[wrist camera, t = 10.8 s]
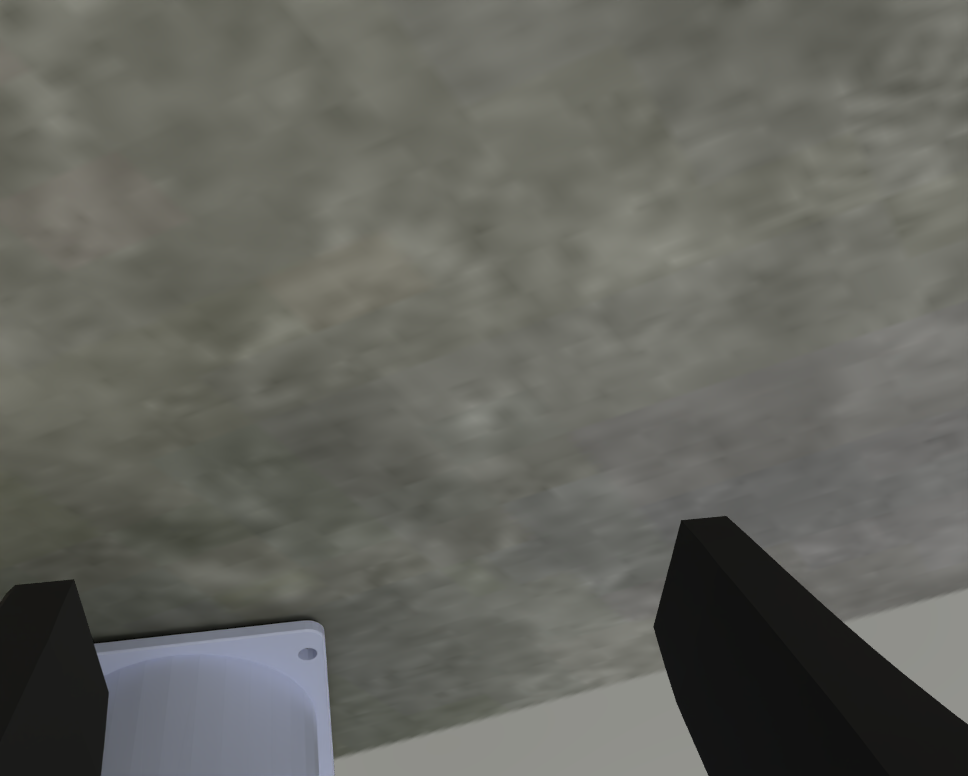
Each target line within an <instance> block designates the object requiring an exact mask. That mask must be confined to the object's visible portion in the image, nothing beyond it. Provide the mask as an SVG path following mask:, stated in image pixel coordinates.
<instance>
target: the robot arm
mask: <svg viewBox="0 0 968 776" xmlns="http://www.w3.org/2000/svg"><path fill="white" fill-rule="evenodd" d="M654 630H655V634H656V637H657V641H658V644H659V647H660V651H661V654H662V658H663V661H664V665H665V668H666V671H667V674H668V677H669V680H670V684H671V687H672V690H673V693H674V696H675V699H676V702H677V705H678V707H679V709H680V712H681V714H682V716H683V719H684V721H685V723H686V726H687V728H688V730H689V732H690V735H691V737H692V739H693V742H694V744H695V746H696V748H697V751H698V753H699V755H700V757H701V760H702V762H703V764H704V767H705V769H706V771H707V773H708V775H709V776H968V724H967V723H965V722H964V721H963V720H961V719H960V718H958V717H957V716H956V715H955V714H953V713H952V712H951V711H950V710H948V709H947V708H946V707H945V706H943V705H942V704H941V703H940V702H938V701H937V700H936V699H934V698H933V697H932V696H931V695H929V694H928V693H927V692H926V691H924V690H923V689H922V688H921V687H919V686H918V685H917V684H916V683H914V682H913V681H912V680H910V679H909V678H908V677H907V676H906V675H904V674H903V673H902V672H901V671H899V670H898V669H897V668H896V667H895V666H893V665H892V664H891V663H890V662H889V661H887V660H886V659H885V658H884V657H883V656H881V655H880V654H879V653H878V652H877V651H875V650H874V649H873V648H872V647H871V646H870V645H868V644H867V643H866V642H865V641H864V640H863V639H862V638H860V637H859V636H858V635H857V634H856V633H855V632H853V631H852V630H851V629H850V628H849V627H848V626H847V625H845V624H844V623H843V622H842V621H841V620H840V619H839V618H837V617H836V616H835V615H834V614H833V613H832V612H831V611H830V610H829V609H827V608H826V607H825V606H824V605H823V604H822V603H821V602H820V601H818V600H817V599H816V598H815V597H814V596H813V595H812V594H811V593H810V592H809V591H808V590H806V589H805V588H804V587H803V586H802V585H801V584H800V583H799V582H798V581H797V580H795V579H794V578H793V577H792V576H791V575H790V574H789V573H788V572H787V571H786V570H785V569H783V568H782V567H781V566H780V565H779V564H778V563H777V562H776V561H775V560H774V559H773V558H772V557H771V556H769V555H768V554H767V553H766V552H765V551H764V550H763V549H762V548H761V547H760V546H759V545H758V544H756V543H755V542H754V541H753V540H752V539H751V538H750V537H749V536H748V535H747V534H746V533H744V532H743V531H742V530H741V529H740V528H739V527H738V526H737V525H736V524H735V523H733V522H732V521H731V520H730V519H729V518H728V517H727V516H721V517H711V518H701V519H691V520H681V524H680V527H679V531H678V535H677V539H676V543H675V546H674V550H673V554H672V558H671V562H670V566H669V569H668V573H667V577H666V581H665V585H664V589H663V592H662V596H661V600H660V604H659V608H658V611H657V615H656V619H655V623H654ZM305 648H308V649H305ZM0 776H335V774H334V758H333V744H332V730H331V716H330V702H329V688H328V674H327V659H326V645H325V631H324V628H323V626H322V625H321V624H320V623H318V622H315V621H312V620H304V621H295V622H286V623H277V624H268V625H259V626H250V627H241V628H232V629H222V630H213V631H204V632H195V633H186V634H177V635H168V636H159V637H150V638H141V639H132V640H123V641H114V642H105V643H96V644H94V643H93V639H92V636H91V633H90V630H89V626H88V623H87V620H86V617H85V613H84V610H83V607H82V604H81V601H80V597H79V594H78V591H77V588H76V584H75V581H74V580H63V581H53V582H43V583H33V584H22V585H15V586H14V587H13V588H12V589H11V590H10V591H9V592H8V593H7V594H6V595H5V597H4V598H3V600H2V601H1V603H0Z"/></svg>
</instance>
